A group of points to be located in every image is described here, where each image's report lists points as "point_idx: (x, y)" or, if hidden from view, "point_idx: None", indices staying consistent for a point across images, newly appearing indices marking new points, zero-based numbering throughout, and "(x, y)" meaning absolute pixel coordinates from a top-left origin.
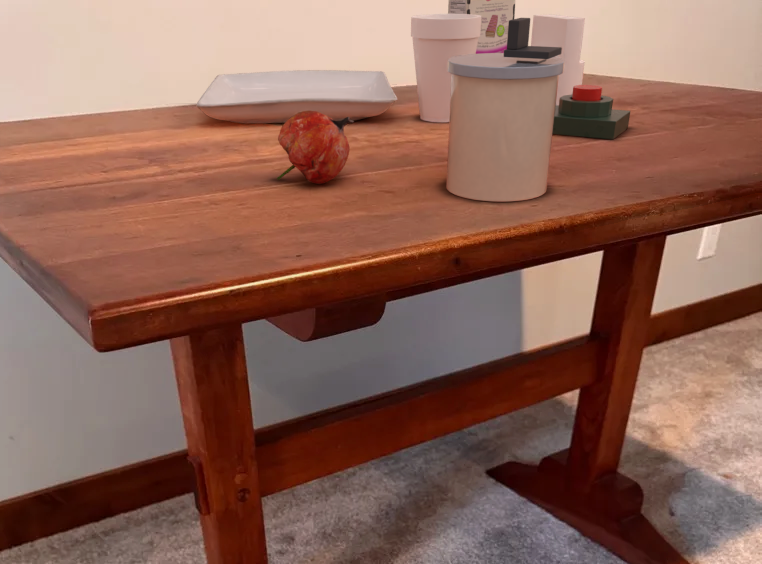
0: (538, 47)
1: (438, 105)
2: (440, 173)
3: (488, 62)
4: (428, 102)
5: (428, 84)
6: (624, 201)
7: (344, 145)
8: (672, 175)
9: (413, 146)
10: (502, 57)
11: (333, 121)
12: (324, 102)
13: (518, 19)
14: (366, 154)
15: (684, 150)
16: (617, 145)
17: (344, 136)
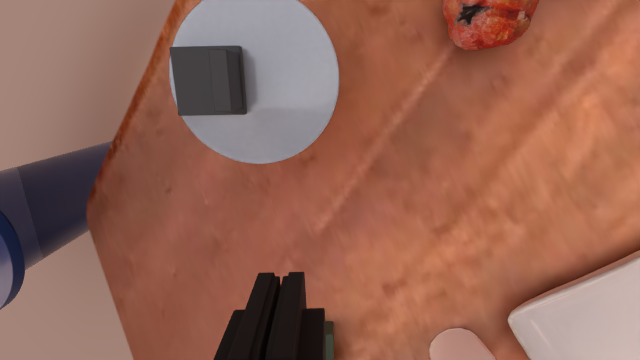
0: (207, 99)
1: (458, 340)
2: (357, 112)
3: (262, 37)
4: (472, 342)
5: (481, 356)
6: (156, 94)
7: (447, 3)
8: (153, 208)
9: (432, 212)
10: (268, 103)
11: (478, 7)
12: (596, 275)
13: (218, 70)
14: (468, 154)
15: (177, 305)
16: (239, 301)
17: (458, 22)
